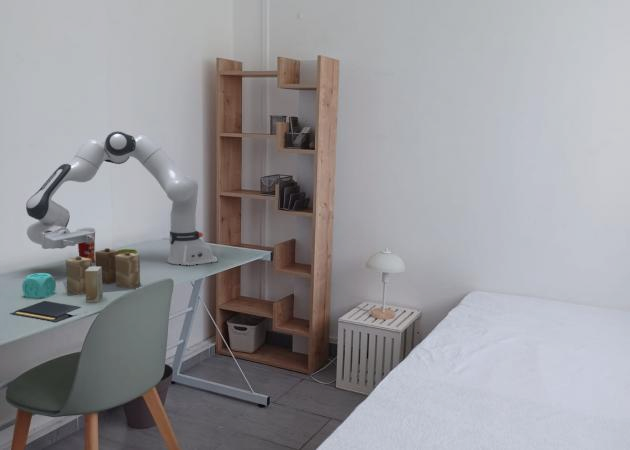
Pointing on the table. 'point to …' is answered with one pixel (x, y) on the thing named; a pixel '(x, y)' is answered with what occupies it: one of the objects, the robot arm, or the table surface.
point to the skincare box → (93, 284)
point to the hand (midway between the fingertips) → (83, 241)
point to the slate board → (105, 288)
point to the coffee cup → (87, 246)
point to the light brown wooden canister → (77, 274)
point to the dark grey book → (47, 311)
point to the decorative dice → (38, 285)
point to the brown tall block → (127, 270)
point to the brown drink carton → (107, 264)
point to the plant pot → (127, 251)
